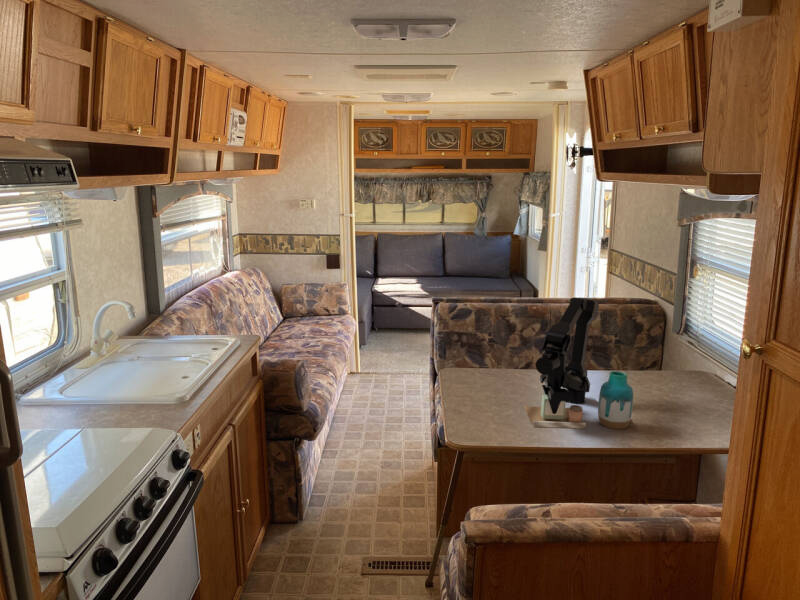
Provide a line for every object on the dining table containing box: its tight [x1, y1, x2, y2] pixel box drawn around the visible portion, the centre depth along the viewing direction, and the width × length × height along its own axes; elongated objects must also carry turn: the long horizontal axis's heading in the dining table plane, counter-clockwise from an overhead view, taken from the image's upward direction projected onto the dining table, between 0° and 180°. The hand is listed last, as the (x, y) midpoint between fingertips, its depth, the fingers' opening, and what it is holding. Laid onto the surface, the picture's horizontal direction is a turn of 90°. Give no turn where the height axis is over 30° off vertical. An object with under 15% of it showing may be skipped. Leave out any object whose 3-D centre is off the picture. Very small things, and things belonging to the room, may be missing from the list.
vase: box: [597, 370, 634, 430], centre depth 191 cm, size 11×11×19 cm
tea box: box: [540, 394, 567, 419], centre depth 194 cm, size 7×4×7 cm, turn 88°
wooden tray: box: [523, 406, 587, 430], centre depth 198 cm, size 17×17×3 cm
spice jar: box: [568, 404, 584, 422], centre depth 192 cm, size 4×4×6 cm
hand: (552, 410), depth 194 cm, fingers open, 4 cm apart
